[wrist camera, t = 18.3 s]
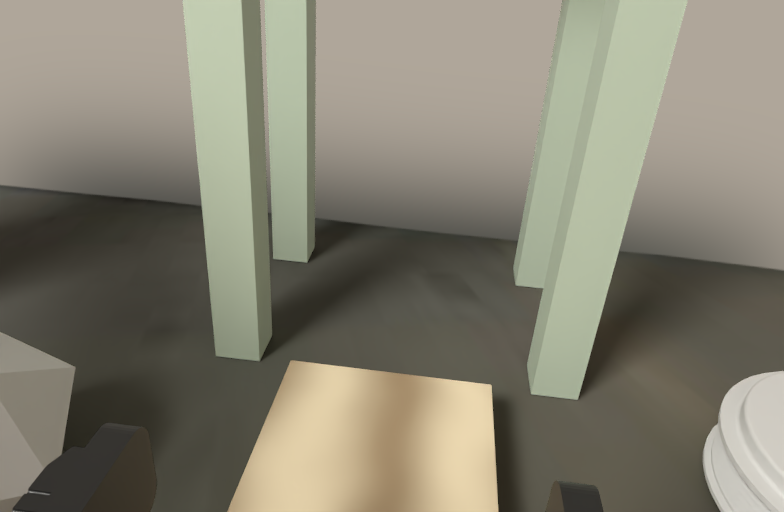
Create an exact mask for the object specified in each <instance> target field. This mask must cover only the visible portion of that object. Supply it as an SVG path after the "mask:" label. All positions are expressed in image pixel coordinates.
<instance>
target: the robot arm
mask: <svg viewBox="0 0 784 512" xmlns="http://www.w3.org/2000/svg"><path fill="white" fill-rule="evenodd" d="M156 487H157V480H156V473H155V467H154V462H153V456H152V450H151V444H150V438H149V433H148V431H147V429H146V428H145V427H138V426H131V425H123V424H116V423H105V424H104V425H102V426H101V427H100V428H99V429H98V431H97V432H96V433H95V435H94V436H93V437H92V439H91V440H90V441H89V443H88V444H87V445H86V447H85V448H82V447H75V446H73V447H71V448H70V449H69V450H67V451H66V452H64V453H63V454H62V455H60V456H59V457H58V458H56V459H55V460H53V461H52V462H51V463H49V464H48V465H47V466H46V467H45V468H44V469H43V471H42V472H41V473H40V474H39V476H38V477H37V478H36V479H35V481H34V482H33V483H32V484H31V486H30V487H29V488H28V492H27V494H24V495H23V496H22V497H21V498H20V500H19V501H18V502H17V503H16V505H15V506H14V507H13V508H12V509H13V510H12V512H150V510H151V508H152V505H153V502H154V498H155V494H156ZM545 512H603V507H602V503H601V499H600V495H599V491H598V489H597V487H596V486H594V485H587V484H579V483H572V482H564V481H557V480H556V481H555V482H554V483H553V486H552V489H551V493H550V497H549V500H548V504H547V508H546V511H545Z"/></svg>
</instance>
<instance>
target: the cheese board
mask: <svg viewBox="0 0 784 512" xmlns="http://www.w3.org/2000/svg"><path fill="white" fill-rule="evenodd" d="M227 512H498V495H497V477H496V459H495V441H494V422H493V404H492V386H491V385H488V384H480V383H472V382H463V381H455V380H447V379H439V378H431V377H423V376H415V375H406V374H398V373H390V372H382V371H374V370H366V369H358V368H349V367H341V366H333V365H325V364H317V363H309V362H301V361H293V360H291V361H290V364H289V366H288V368H287V371H286V373H285V376H284V378H283V380H282V383H281V385H280V387H279V390H278V392H277V395H276V397H275V399H274V402H273V404H272V406H271V409H270V411H269V414H268V416H267V418H266V421H265V423H264V425H263V428H262V430H261V433H260V435H259V437H258V440H257V442H256V445H255V447H254V449H253V452H252V454H251V456H250V459H249V461H248V464H247V466H246V468H245V471H244V473H243V475H242V478H241V480H240V483H239V485H238V487H237V490H236V492H235V494H234V497H233V499H232V502H231V504H230V506H229V509H228V511H227Z"/></svg>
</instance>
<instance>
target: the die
mask: <svg viewBox="0 0 784 512" xmlns="http://www.w3.org/2000/svg"><path fill="white" fill-rule="evenodd" d="M74 373H75V367H74V366H72V365H70V364H68V363H66V362H63V361H61V360H59V359H57V358H55V357H53V356H51V355H48V354H46V353H44V352H42V351H40V350H38V349H36V348H34V347H31V346H29V345H27V344H25V343H23V342H21V341H19V340H16V339H14V338H12V337H10V336H8V335H6V334H4V333H1V332H0V512H12V510H13V509H12V508H13V507H14V506H15V505H16V503H17V502H18V501H19V500H20V498H21V497H22V496H23V495H24V494H27V492H28V488H29V487H30V486H31V484H32V483H33V482H34V481H35V479H36V478H37V477H38V476H39V474H40V473H41V472H42V471H43V469H44V468H45V467H46V466H47V465H48V464H49V463H51V462H52V461H53V460H55V459H56V458H58V457H59V456H60V455H61V454H62V448H63V442H64V436H65V429H66V423H67V417H68V411H69V404H70V398H71V392H72V386H73V379H74Z"/></svg>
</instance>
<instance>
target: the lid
mask: <svg viewBox="0 0 784 512" xmlns="http://www.w3.org/2000/svg"><path fill="white" fill-rule="evenodd" d="M703 468H704V474H705V479H706V481H707V484H708V487H709V490H710V492H711V495H712V497H713V499H714V500H715V502H716V504H717V506H718V508H719V510H720V511H721V512H784V371H779V372H770V373H763V374H759V375H755V376H751V377H749V378H747V379H744V380H742V381H740V382H739V383H738V384H736V385H735V386H733V387H732V388H731V389H730V391H729V392H728V393H727V394H726V395H725V398H724V400H723V402H722V404H721V407H720V411H719V415H718V424H716V425H715V426H714V427H713V429H712V430H711V432H710V434H709V435H708V437H707V439H706V443H705V446H704V450H703Z"/></svg>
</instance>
